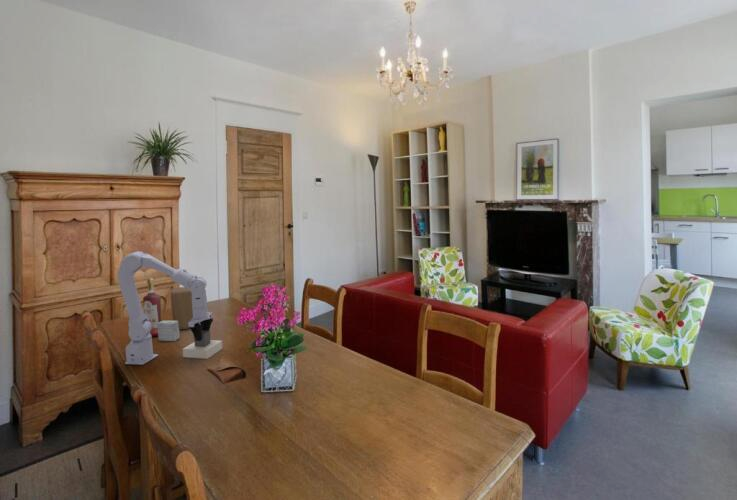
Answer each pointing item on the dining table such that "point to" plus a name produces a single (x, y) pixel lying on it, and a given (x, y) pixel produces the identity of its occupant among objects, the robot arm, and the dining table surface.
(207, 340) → the charcoal block
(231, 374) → the sunglasses case
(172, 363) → the dining table surface
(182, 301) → the wooden block
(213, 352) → the white flat panel
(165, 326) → the medicine box
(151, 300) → the liquor
